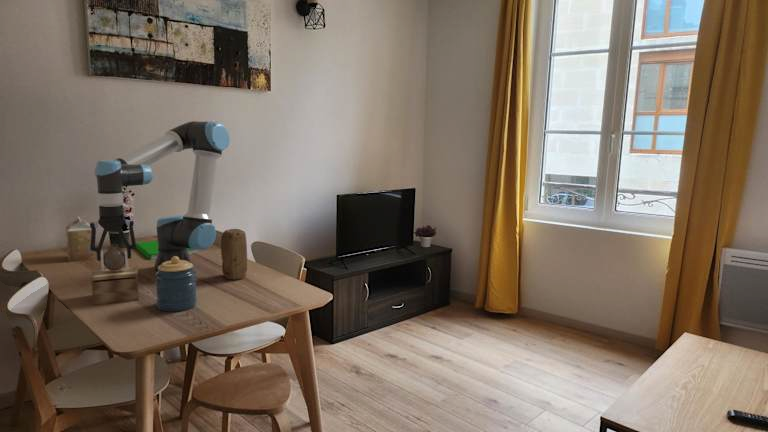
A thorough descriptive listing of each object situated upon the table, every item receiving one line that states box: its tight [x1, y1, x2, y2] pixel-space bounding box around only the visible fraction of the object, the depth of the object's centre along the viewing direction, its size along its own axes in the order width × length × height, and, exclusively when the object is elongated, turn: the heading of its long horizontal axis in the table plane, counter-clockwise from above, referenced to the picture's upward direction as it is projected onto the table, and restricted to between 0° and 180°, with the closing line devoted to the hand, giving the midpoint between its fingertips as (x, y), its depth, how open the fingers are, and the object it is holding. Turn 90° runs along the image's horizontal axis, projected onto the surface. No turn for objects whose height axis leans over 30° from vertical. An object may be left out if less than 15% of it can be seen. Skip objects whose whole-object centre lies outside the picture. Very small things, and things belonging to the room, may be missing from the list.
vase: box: [104, 243, 126, 270], centre depth 179 cm, size 7×7×9 cm
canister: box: [154, 256, 198, 313], centre depth 173 cm, size 13×13×18 cm
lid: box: [90, 266, 139, 282], centre depth 180 cm, size 14×12×1 cm
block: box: [220, 228, 248, 281], centre depth 208 cm, size 11×8×20 cm
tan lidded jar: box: [65, 216, 97, 263], centre depth 231 cm, size 11×11×19 cm
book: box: [135, 240, 198, 261], centre depth 251 cm, size 22×28×3 cm
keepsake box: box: [91, 276, 140, 306], centre depth 181 cm, size 14×12×8 cm
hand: (115, 268), depth 180 cm, fingers closed on vase, 7 cm apart
